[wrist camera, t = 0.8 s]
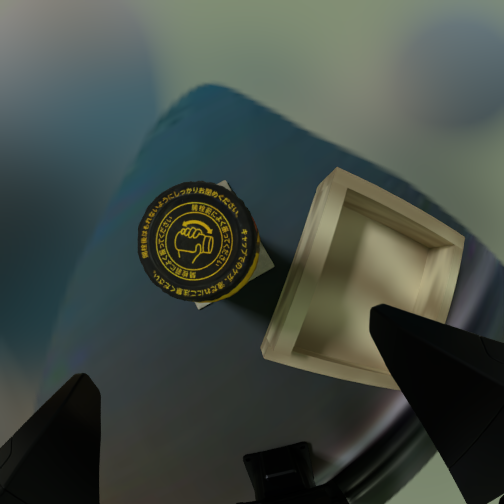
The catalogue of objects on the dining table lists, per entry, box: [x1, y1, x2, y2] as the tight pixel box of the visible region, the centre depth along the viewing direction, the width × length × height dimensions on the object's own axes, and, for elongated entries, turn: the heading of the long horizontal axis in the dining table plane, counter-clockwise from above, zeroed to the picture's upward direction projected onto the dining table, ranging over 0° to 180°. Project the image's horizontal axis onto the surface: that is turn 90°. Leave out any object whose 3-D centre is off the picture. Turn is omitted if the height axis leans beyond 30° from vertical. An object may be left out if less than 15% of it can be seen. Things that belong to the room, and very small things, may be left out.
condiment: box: [138, 180, 275, 309], centre depth 17 cm, size 7×8×12 cm
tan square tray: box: [260, 167, 465, 390], centre depth 21 cm, size 15×14×5 cm
